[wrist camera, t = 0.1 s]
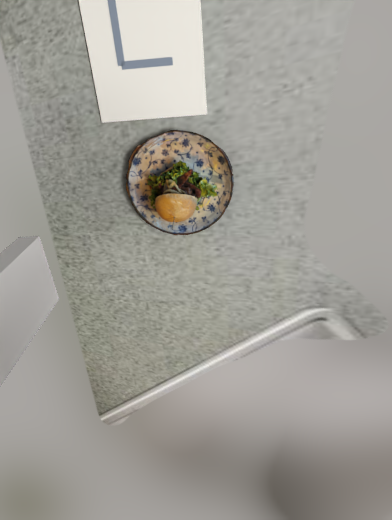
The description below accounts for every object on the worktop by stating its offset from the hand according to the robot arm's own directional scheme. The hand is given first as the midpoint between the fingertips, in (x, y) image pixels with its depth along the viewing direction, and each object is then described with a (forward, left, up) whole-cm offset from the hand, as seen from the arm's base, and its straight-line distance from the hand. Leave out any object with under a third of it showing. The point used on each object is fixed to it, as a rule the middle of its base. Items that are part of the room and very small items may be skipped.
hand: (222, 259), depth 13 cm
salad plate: (+5, -4, -28) cm, 29 cm away
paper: (-11, -6, -28) cm, 31 cm away
